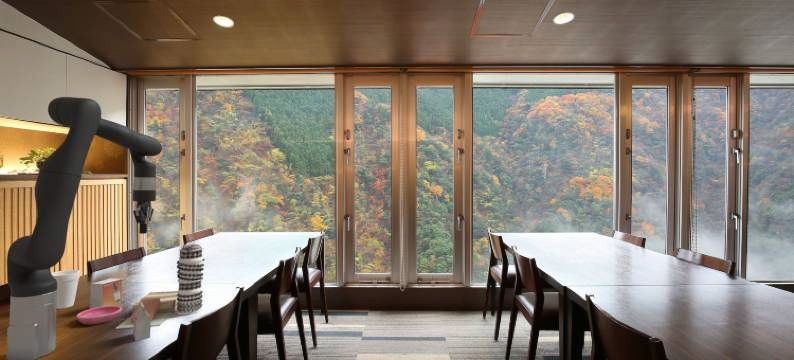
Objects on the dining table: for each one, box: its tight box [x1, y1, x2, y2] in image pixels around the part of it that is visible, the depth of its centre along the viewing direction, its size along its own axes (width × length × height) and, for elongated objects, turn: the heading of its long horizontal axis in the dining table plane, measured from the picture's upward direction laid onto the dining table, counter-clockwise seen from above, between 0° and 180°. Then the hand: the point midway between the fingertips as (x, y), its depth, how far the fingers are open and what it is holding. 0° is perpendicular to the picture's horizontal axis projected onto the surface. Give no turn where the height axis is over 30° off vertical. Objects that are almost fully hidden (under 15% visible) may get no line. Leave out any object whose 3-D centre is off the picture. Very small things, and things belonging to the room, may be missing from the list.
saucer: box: [75, 306, 123, 326], centre depth 126 cm, size 12×12×3 cm
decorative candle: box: [176, 244, 205, 316], centre depth 136 cm, size 9×9×25 cm
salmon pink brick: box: [130, 298, 161, 323], centre depth 127 cm, size 9×6×2 cm, turn 14°
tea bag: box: [132, 302, 152, 342], centre depth 113 cm, size 4×7×10 cm, turn 42°
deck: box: [131, 290, 178, 315], centre depth 139 cm, size 16×13×4 cm
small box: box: [89, 277, 123, 309], centre depth 138 cm, size 8×6×10 cm
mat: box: [115, 313, 173, 330], centre depth 125 cm, size 12×13×1 cm
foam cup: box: [51, 269, 81, 310], centre depth 139 cm, size 10×9×13 cm
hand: (143, 233), depth 139 cm, fingers closed
